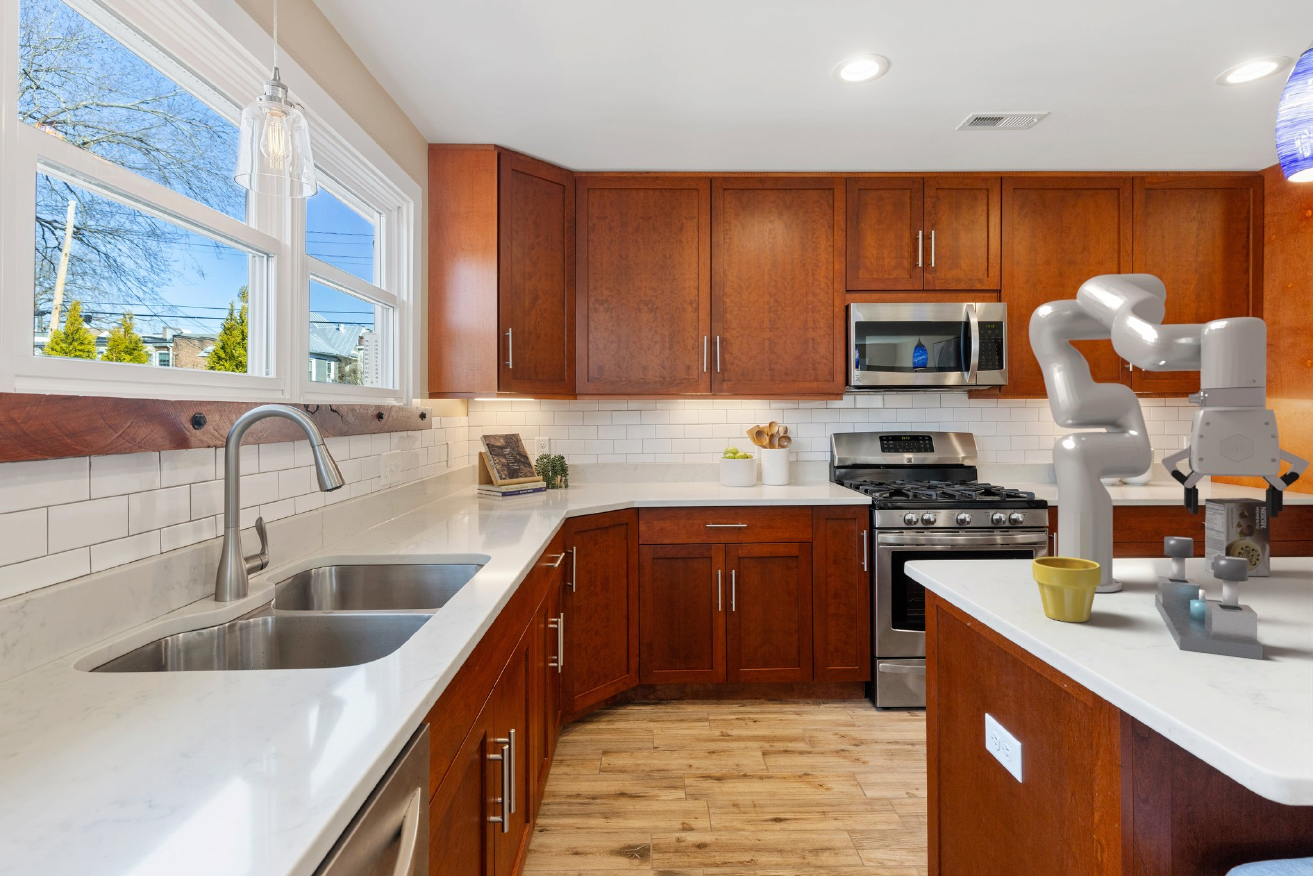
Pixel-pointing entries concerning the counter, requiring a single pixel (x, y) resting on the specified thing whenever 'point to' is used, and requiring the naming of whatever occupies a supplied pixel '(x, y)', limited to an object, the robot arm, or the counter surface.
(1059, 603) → the plant pot
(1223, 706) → the counter surface
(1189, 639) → the mount
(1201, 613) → the potentiometer
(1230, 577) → the knob near
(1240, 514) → the coffee box
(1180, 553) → the knob far
